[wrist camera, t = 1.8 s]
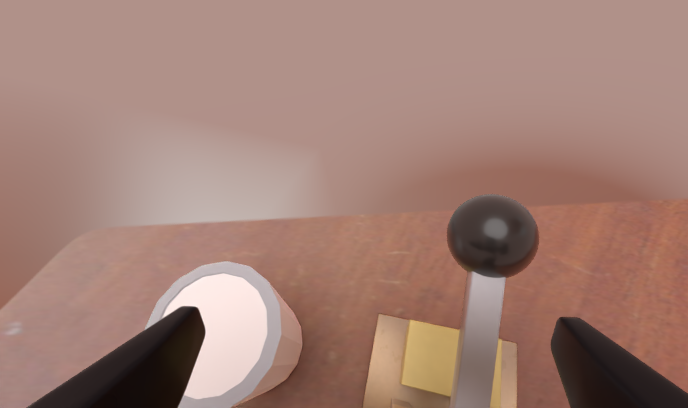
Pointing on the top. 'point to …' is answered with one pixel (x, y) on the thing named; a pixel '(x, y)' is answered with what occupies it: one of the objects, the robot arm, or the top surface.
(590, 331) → the robot arm
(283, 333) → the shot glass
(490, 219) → the lever
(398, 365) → the butter cutter
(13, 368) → the top surface
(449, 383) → the butter
